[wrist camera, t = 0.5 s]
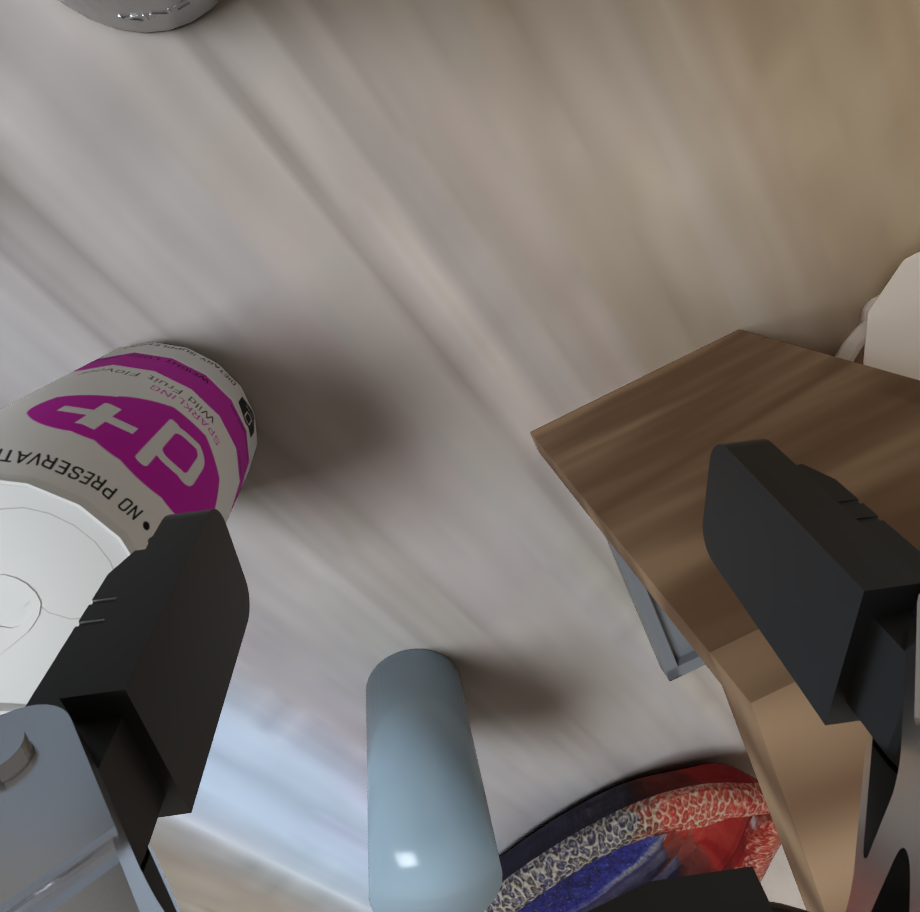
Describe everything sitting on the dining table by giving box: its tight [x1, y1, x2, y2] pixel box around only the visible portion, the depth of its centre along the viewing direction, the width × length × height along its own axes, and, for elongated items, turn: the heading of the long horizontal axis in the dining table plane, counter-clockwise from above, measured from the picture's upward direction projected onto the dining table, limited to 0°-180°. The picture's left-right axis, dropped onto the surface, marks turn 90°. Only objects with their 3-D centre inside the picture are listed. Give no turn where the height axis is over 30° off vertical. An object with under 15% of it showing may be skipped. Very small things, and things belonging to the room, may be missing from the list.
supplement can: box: [0, 342, 257, 714], centre depth 23 cm, size 8×8×15 cm
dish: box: [483, 763, 781, 912], centre depth 43 cm, size 16×31×5 cm, turn 125°
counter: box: [530, 330, 920, 912], centre depth 27 cm, size 21×12×20 cm, turn 25°
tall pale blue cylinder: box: [366, 649, 502, 912], centre depth 32 cm, size 6×6×12 cm
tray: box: [606, 538, 705, 681], centre depth 36 cm, size 14×9×1 cm, turn 25°
